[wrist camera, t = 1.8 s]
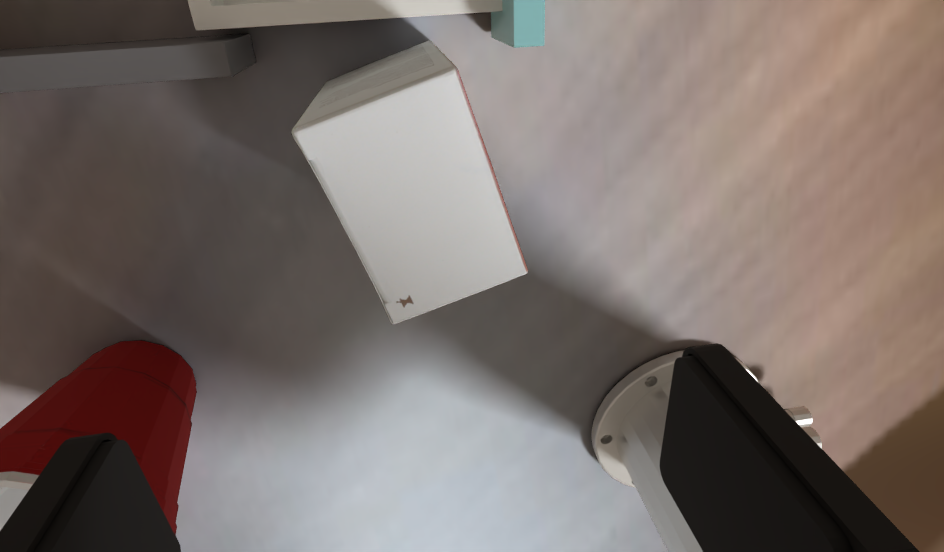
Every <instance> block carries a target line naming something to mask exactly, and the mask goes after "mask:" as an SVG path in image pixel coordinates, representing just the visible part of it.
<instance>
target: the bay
mask: <svg viewBox="0 0 944 552" xmlns="http://www.w3.org/2000/svg"><path fill="white" fill-rule="evenodd" d="M254 63H256V59H255V55H254V50H253V46H252V42H251V37H250V34H237V35H221V36H206V37H190V38H175V39H159V40H143V41H128V42H112V43H97V44H81V45H66V46H50V47H35V48H19V49H4V50H0V93H9V92H23V91H37V90H50V89H64V88H78V87H92V86H106V85H120V84H134V83H148V82H162V81H175V80H189V79H203V78H217V77H231V76H234V75H235V74H237V73H239V72H240V71H242V70H244V69H246V68H247V67H249V66H251V65H252V64H254Z"/></svg>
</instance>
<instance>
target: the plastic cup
mask: <svg viewBox="0 0 944 552" xmlns="http://www.w3.org/2000/svg"><path fill="white" fill-rule="evenodd" d="M196 393H197V391H196V381H195V377H194V374H193V370H192V368H191V367H190V366H189V365H188V364H187V362H186V361H185V360H184V359H183V358H182V357H181V356H180V355H179V354H177V353H175V352H174V351H172V350H170V349H168V348H167V347H165V346H163V345H159V344H155V343H151V342H146V341H142V340H140V341H123V342H119V343H116V344H114V345H111V346H109V347H107V348H104V349H102V350H101V351H100V352H97V353H95V354H93V355H92V356H91V357H90V358H89V359H87V360H86V361H85V362H84V363H83V364H81V365H80V366H79V367H78V368H77V369H75V370H74V371H73V372H72V373H71V374H69V375H68V376H66V377H64V378H62V379H60V380H59V381H58V382H56V383H55V384H54V385H53V386H52V387H50V388H49V389H48V390H47V391H46V392H44V393H43V394H42V395H41V396H39V397H38V398H37V399H36V400H35V401H33V402H32V403H31V404H30V405H29V406H27V407H26V408H25V409H24V410H23V411H21V412H20V413H19V414H18V415H16V416H15V417H14V418H13V419H12V420H10V421H9V422H8V423H7V424H6V425H4V426H3V427H2V428H1V429H0V530H1V529H2V528H3V526H4V525H5V523H6V522H7V521H8V519H9V518H10V516H11V515H12V513H13V512H14V511H15V509H16V508H17V506H18V505H19V503H20V502H21V501H22V499H23V498H24V496H25V495H26V493H27V492H28V491H29V489H30V488H31V486H32V485H33V484H34V482H35V481H36V479H37V478H38V476H39V475H40V474H41V472H42V471H43V469H44V468H45V466H46V465H47V464H48V462H49V461H50V459H51V458H52V456H53V455H54V454H55V452H56V451H57V449H58V448H59V447H60V445H61V444H62V443H63V442H64V441H65V440H67V439H69V438H73V437H80V436H86V435H93V434H100V433H112V434H113V435H115V436H116V438H117V439H118V440H124V441H126V442H127V443H128V445H129V446H130V448H131V450H132V452H133V454H134V456H135V458H136V460H137V462H138V464H139V466H140V468H141V470H142V471H143V473H144V475H145V477H146V479H147V481H148V483H149V485H150V487H151V489H152V491H153V493H154V495H155V497H156V499H157V501H158V503H159V505H160V507H161V508H162V510H163V512H164V514H165V516H166V518H167V520H168V522H169V524H170V526H171V528H172V530H173V532H174V534H175V535H176V529H177V526H176V523H175V522H176V517H177V511H178V503H177V500H178V495H179V490H180V485H181V479H182V474H183V469H184V463H185V458H186V453H187V447H188V442H189V437H190V431H191V426H192V423H191V416H192V412H193V407H194V402H195V397H196Z"/></svg>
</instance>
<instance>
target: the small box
mask: <svg viewBox="0 0 944 552" xmlns="http://www.w3.org/2000/svg"><path fill="white" fill-rule="evenodd" d="M292 136H293V138H294V139H295V141H296V143H297V144H298V146H299V148H300V149H301V151H302V153H303V154H304V156H305V158H306V159H307V161H308V163H309V164H310V166H311V168H312V170H313V172H314V173H315V175H316V177H317V179H318V181H319V182H320V184H321V186H322V188H323V190H324V192H325V193H326V195H327V197H328V199H329V201H330V203H331V205H332V207H333V209H334V210H335V212H336V214H337V216H338V218H339V220H340V222H341V224H342V226H343V227H344V229H345V231H346V233H347V235H348V237H349V239H350V241H351V243H352V244H353V246H354V248H355V250H356V252H357V254H358V256H359V258H360V260H361V262H362V264H363V266H364V268H365V270H366V271H367V273H368V275H369V277H370V279H371V281H372V283H373V285H374V287H375V289H376V291H377V293H378V296H379V298H380V300H381V302H382V305H383V307H384V309H385V311H386V313H387V315H388V318H389V320H390V322H391V324H397V323H400V322H402V321H405V320H408V319H410V318H413V317H416V316H419V315H421V314H424V313H426V312H429V311H432V310H434V309H437V308H440V307H442V306H445V305H447V304H450V303H453V302H455V301H458V300H460V299H463V298H466V297H468V296H471V295H473V294H476V293H479V292H481V291H484V290H487V289H489V288H492V287H495V286H497V285H500V284H502V283H505V282H507V281H510V280H512V279H515V278H517V277H519V276H523V275H525V274H527V273H528V269H527V266H526V263H525V260H524V257H523V254H522V252H521V249H520V246H519V243H518V240H517V237H516V234H515V231H514V229H513V226H512V223H511V220H510V217H509V214H508V211H507V208H506V205H505V202H504V200H503V197H502V194H501V191H500V188H499V185H498V182H497V179H496V176H495V173H494V170H493V167H492V165H491V162H490V159H489V156H488V153H487V151H486V148H485V145H484V142H483V139H482V137H481V134H480V131H479V128H478V126H477V123H476V120H475V117H474V114H473V111H472V109H471V106H470V103H469V100H468V97H467V94H466V92H465V89H464V86H463V83H462V80H461V77H460V74H459V71H458V69H457V67H456V66H455V65H454V64H453V63H452V62H451V61H450V60H449V59H448V58H447V57H446V56H445V55H444V54H443V53H442V52H441V51H440V50H439V49H438V48H437V47H436V46H435V45H434V44H433V42H432V41H427V42H424V43H421V44H418V45H416V46H413V47H411V48H408V49H406V50H403V51H401V52H398V53H395V54H393V55H390V56H388V57H386V58H383V59H381V60H378V61H376V62H373V63H371V64H368V65H366V66H363V67H361V68H358V69H356V70H353V71H351V72H348V73H346V74H344V75H341V76H339V77H337V78H334V79H332V80H329V81H327V82H326V83H325V84H324V86H323V87H322V89H321V90H320V91H319V93H318V94H317V95H316V97H315V98H314V99H313V101H312V102H311V104H310V105H309V106H308V108H307V110H306V111H305V112H304V113H303V115H302V116H301V118H300V119H299V121H298V122H297V123H296V125H295V126H294V128H293V129H292Z"/></svg>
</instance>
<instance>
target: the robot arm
mask: <svg viewBox="0 0 944 552" xmlns="http://www.w3.org/2000/svg"><path fill="white" fill-rule="evenodd" d="M811 424H812V416H811V413H810V411H809V410H808V409H807V408H806V407H804V406H802V407H794V408H788V409H783V408H782V407H781V406H780V405H779V404H778V403H777V402H776V401H775V400H774V398H773V397H772V396H771V395H770V394H769V393H768V392H767V391H766V390H765V389H764V388H763V387H762V386H761V385H760V383H759V381H758V379H757V377H756V376H755V375H754V374H753V373H752V372H751V371H750V369H749V368H748V367H747V366H746V365H745V364H743V363H742V362H741V361H740V360H739V359H737V358H736V357H734V356H733V355H732V354H731V353H730V352H729V351H728V350H727V349H726V348H725V347H724V346H722V345H721V344H711V345H704V346H697V347H690V348H687V349H685V350H683V351H677V352H674V353H670V354H667V355H663V356H661V357H658V358H656V359H654V360H652V361H649V362H647V363H645V364H643V365H642V366H640V367H639V368H637V369H635V370H634V371H632V372H631V373H629V374H628V375H627V376H626V377H624V378H623V379H622V380H621V381H620V382H619V383H617V384H616V385H615V387H614V388H613V389H612V390H611V391H610V392H609V393H608V395H607V396H606V397H605V399H604V400H603V402H602V404H601V405H600V407H599V408H598V410H597V413H596V416H595V418H594V421H593V426H592V433H591V438H592V446H593V449H594V451H595V454H596V456H597V459H598V461H599V463H600V464H601V466H602V468H603V469H604V471H605V472H606V473H608V474H609V475H610V476H611V477H612V478H613V479H615V480H617V481H619V482H620V483H622V484H625V485H628V486H631V487H635V488H636V489H637V491H638V493H639V495H640V497H641V499H642V501H643V503H644V505H645V507H646V509H647V511H648V513H649V515H650V517H651V519H652V521H653V522H654V524H655V526H656V528H657V530H658V532H659V534H660V536H661V538H662V540H663V542H664V544H665V546H666V548H667V550H668V552H919V551H918V550H917V549H916V548H915V546H913V544H912V543H911V542H909V540H908V539H907V538H906V537H905V536H904V535H903V534H902V533H901V532H900V531H899V530H898V529H897V528H896V527H895V525H894V524H893V523H892V522H891V521H890V520H889V519H888V518H887V517H886V516H885V515H884V514H883V513H882V512H881V511H880V510H879V509H878V508H877V507H876V506H875V504H874V503H873V502H872V501H871V500H870V499H869V498H868V497H867V496H866V495H865V494H864V493H863V492H862V491H861V490H860V489H859V488H858V487H857V485H856V484H854V482H853V481H852V480H851V479H850V478H849V477H848V476H847V475H846V474H845V473H844V472H843V471H842V470H841V469H840V468H839V467H838V466H837V464H836V463H835V462H834V461H833V460H832V459H831V458H830V457H829V456H828V455H827V454H826V453H825V452H824V451H823V450H822V442H821V439H820V436H819V435H818V433H817V432H816V430H814V429H813V428H811V427H806V426H810V425H811ZM0 552H181V549H180V544H179V542H178V540H177V538H176V536H175V534H174V532H173V530H172V528H171V526H170V524H169V522H168V520H167V518H166V516H165V514H164V512H163V510H162V508H161V507H160V505H159V503H158V501H157V499H156V497H155V495H154V493H153V491H152V489H151V487H150V485H149V483H148V481H147V479H146V477H145V475H144V473H143V471H142V470H141V468H140V466H139V464H138V462H137V460H136V458H135V456H134V454H133V452H132V450H131V448H130V446H129V445H128V443H127V442H126V441H124V440H118V439H117V438H116V436H115V435H113V434H112V433H100V434H93V435H86V436H80V437H73V438H69V439H67V440H65V441H64V442H63V443H62V444H61V445H60V447H59V448H58V449H57V451H56V452H55V454H54V455H53V456H52V458H51V459H50V461H49V462H48V464H47V465H46V466H45V468H44V469H43V471H42V472H41V474H40V475H39V476H38V478H37V479H36V481H35V482H34V484H33V485H32V486H31V488H30V489H29V491H28V492H27V493H26V495H25V496H24V498H23V499H22V501H21V502H20V503H19V505H18V506H17V508H16V509H15V511H14V512H13V513H12V515H11V516H10V518H9V519H8V521H7V522H6V523H5V525H4V526H3V528H2V529H1V530H0Z"/></svg>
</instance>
